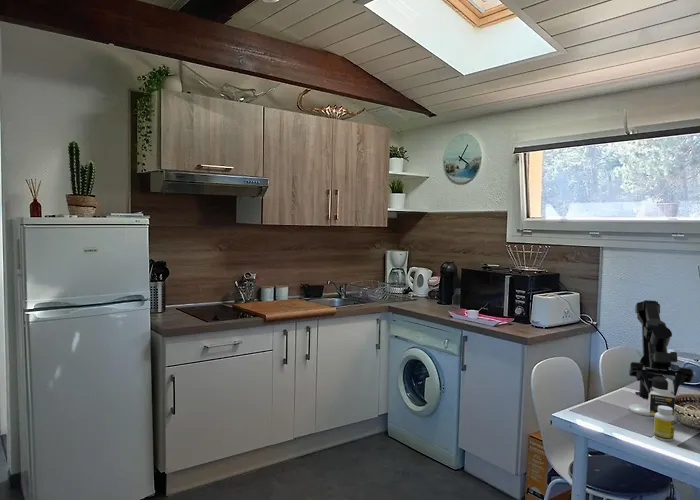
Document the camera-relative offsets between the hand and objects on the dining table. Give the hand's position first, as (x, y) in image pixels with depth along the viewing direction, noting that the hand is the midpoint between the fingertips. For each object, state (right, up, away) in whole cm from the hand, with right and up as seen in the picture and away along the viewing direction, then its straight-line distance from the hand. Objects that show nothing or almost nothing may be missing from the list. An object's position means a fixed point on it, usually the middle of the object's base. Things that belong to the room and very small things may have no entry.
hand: (662, 394), depth 172 cm
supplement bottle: (-8, -10, -13) cm, 18 cm away
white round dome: (0, -9, +11) cm, 14 cm away
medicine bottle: (0, -7, +1) cm, 7 cm away
